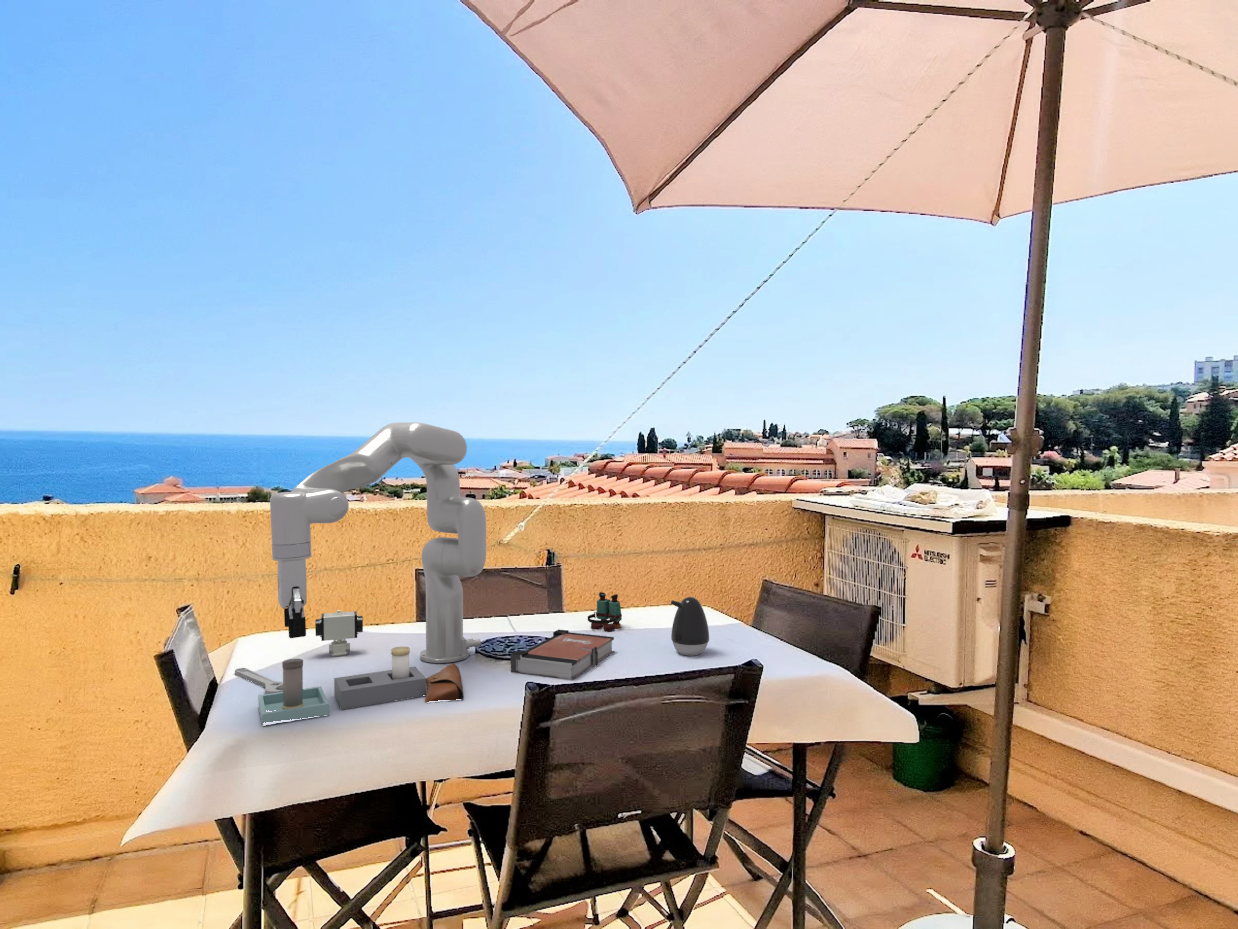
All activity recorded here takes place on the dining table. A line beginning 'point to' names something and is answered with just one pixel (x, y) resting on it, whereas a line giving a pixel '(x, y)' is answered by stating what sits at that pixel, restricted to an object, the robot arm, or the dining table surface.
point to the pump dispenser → (689, 627)
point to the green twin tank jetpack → (606, 613)
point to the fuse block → (377, 688)
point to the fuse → (400, 662)
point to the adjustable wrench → (260, 680)
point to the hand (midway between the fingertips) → (295, 631)
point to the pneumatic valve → (339, 630)
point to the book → (562, 655)
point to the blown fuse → (292, 683)
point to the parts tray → (312, 706)
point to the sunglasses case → (445, 684)
